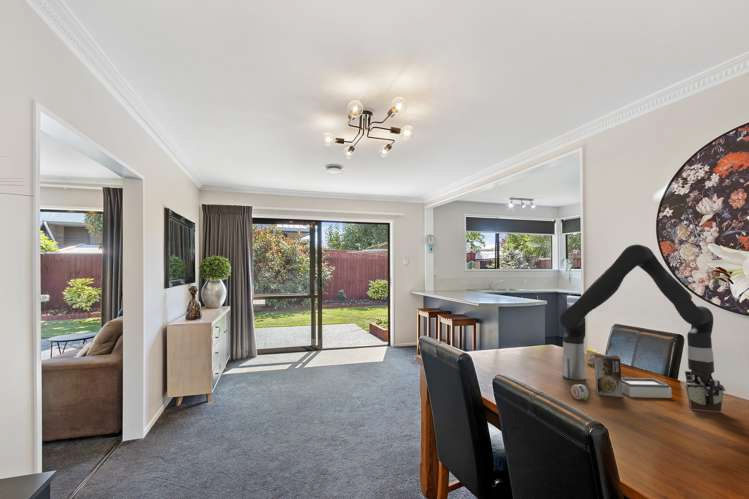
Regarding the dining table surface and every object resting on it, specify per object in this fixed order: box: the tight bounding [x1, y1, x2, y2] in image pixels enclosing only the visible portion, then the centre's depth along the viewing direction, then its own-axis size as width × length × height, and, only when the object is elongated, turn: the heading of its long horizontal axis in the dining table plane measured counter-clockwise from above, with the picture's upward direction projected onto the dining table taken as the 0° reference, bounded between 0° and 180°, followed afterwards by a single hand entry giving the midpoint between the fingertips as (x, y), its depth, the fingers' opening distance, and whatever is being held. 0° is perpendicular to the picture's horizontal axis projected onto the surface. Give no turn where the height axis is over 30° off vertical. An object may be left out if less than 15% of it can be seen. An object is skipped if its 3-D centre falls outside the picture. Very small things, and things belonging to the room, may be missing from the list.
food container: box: [683, 379, 726, 413], centre depth 142 cm, size 12×6×10 cm, turn 71°
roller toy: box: [570, 383, 589, 401], centre depth 152 cm, size 4×6×6 cm
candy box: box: [586, 348, 607, 367], centre depth 198 cm, size 16×2×8 cm, turn 6°
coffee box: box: [594, 353, 623, 398], centre depth 158 cm, size 9×6×16 cm
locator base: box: [621, 377, 672, 399], centre depth 158 cm, size 16×11×5 cm, turn 85°
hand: (703, 402), depth 141 cm, fingers closed on food container, 5 cm apart
